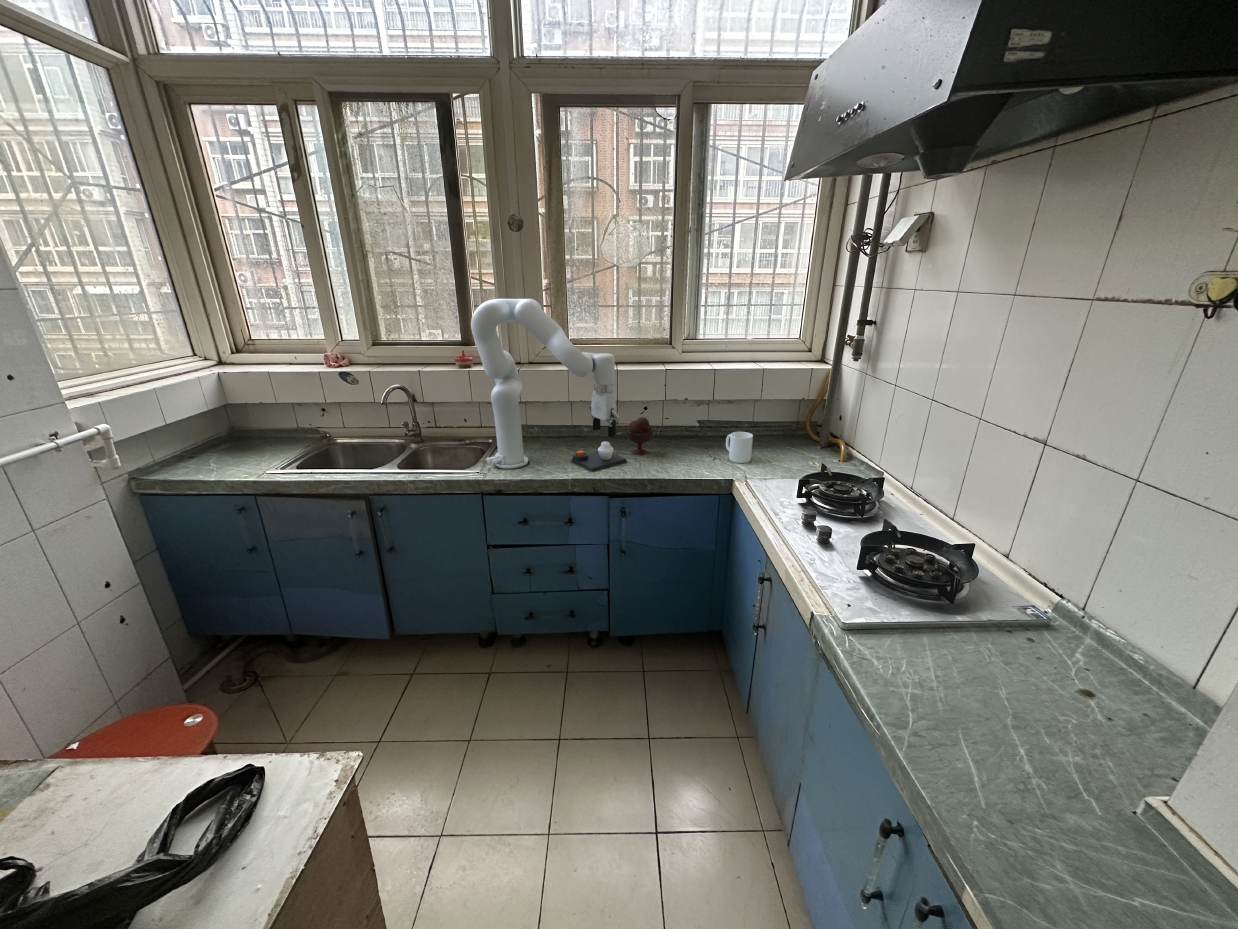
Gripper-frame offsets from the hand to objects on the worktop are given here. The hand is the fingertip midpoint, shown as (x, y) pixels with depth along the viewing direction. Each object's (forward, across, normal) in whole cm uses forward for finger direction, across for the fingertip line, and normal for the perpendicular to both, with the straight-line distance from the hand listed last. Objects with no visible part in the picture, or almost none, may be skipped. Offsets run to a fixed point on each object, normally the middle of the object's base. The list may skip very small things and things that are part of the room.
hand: (604, 432), depth 188 cm
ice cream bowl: (+12, 0, +18) cm, 21 cm away
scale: (+12, -2, -1) cm, 12 cm away
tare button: (+9, -6, -7) cm, 13 cm away
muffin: (+11, 0, +1) cm, 11 cm away
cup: (+11, +30, +43) cm, 53 cm away
